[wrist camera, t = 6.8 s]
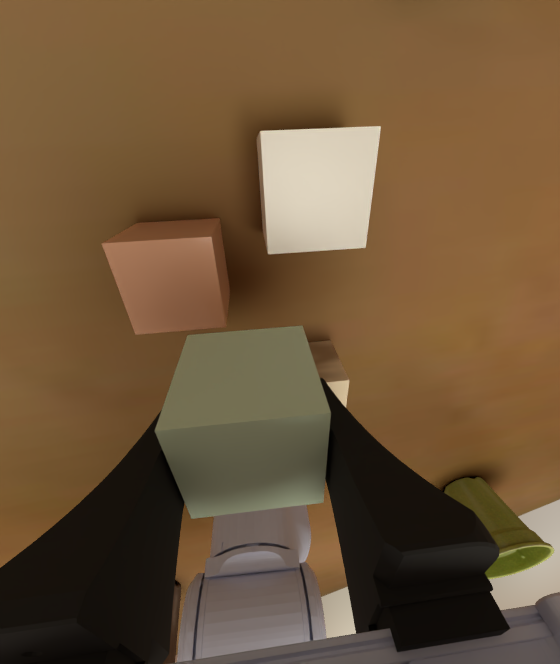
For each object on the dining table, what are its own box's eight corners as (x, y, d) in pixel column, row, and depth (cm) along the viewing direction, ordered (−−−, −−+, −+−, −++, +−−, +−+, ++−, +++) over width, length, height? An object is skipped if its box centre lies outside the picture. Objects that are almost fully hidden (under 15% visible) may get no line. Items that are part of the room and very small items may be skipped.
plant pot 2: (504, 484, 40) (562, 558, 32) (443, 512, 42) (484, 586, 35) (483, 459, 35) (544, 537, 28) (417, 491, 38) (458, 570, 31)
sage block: (302, 325, 12) (331, 413, 8) (301, 405, 15) (323, 502, 11) (187, 335, 12) (154, 430, 8) (208, 414, 15) (191, 518, 10)
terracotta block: (219, 217, 17) (211, 236, 13) (230, 291, 20) (226, 327, 16) (137, 222, 17) (101, 243, 13) (159, 296, 20) (135, 334, 15)
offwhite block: (344, 134, 16) (380, 126, 12) (338, 227, 18) (365, 247, 14) (256, 138, 15) (260, 130, 11) (262, 231, 18) (267, 254, 14)
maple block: (330, 339, 23) (349, 380, 19) (327, 384, 26) (343, 428, 22) (271, 345, 23) (276, 387, 19) (274, 389, 26) (279, 435, 21)
